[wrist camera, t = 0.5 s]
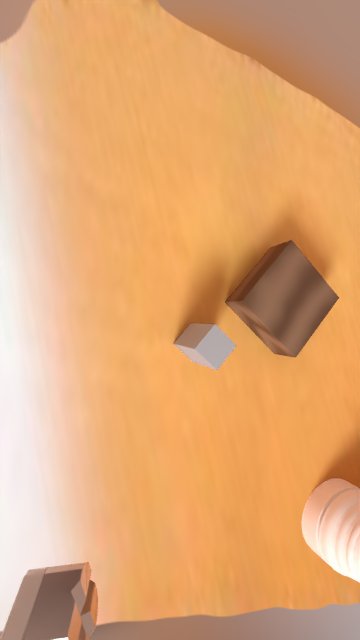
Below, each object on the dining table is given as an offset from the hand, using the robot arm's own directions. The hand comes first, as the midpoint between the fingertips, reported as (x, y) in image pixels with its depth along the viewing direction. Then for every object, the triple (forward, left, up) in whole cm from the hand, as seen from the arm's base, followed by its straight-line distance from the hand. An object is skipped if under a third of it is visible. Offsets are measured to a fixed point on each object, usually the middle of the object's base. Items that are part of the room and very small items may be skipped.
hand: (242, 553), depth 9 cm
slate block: (+8, +11, -36) cm, 39 cm away
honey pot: (+48, +6, -36) cm, 60 cm away
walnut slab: (+14, +25, -36) cm, 46 cm away
